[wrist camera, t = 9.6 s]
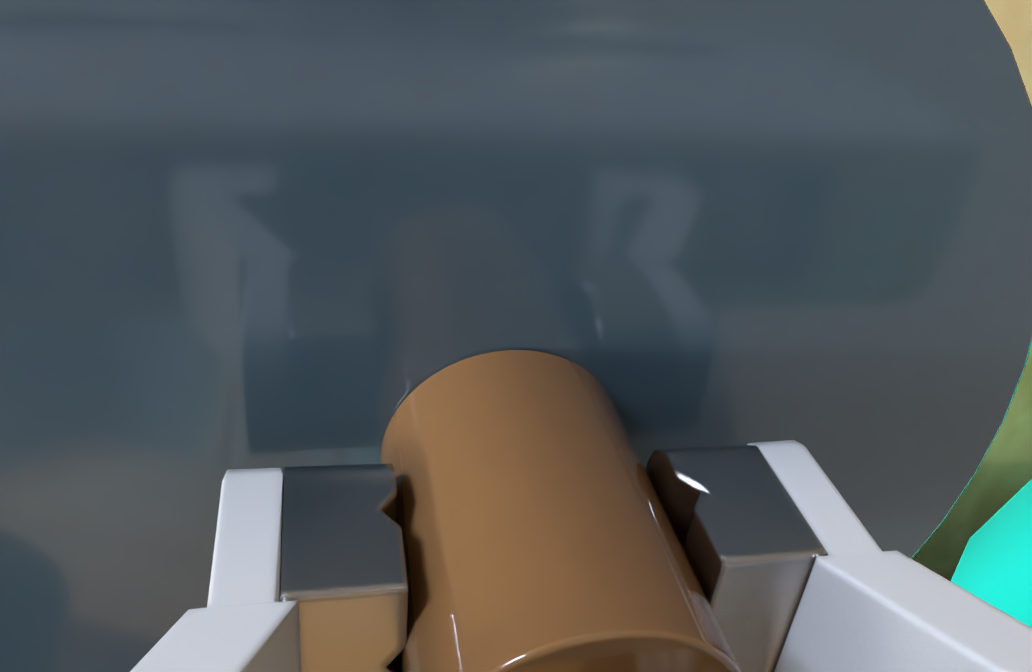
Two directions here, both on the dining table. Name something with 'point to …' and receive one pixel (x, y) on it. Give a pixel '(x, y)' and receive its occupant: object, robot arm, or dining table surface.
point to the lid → (490, 293)
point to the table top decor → (1002, 559)
